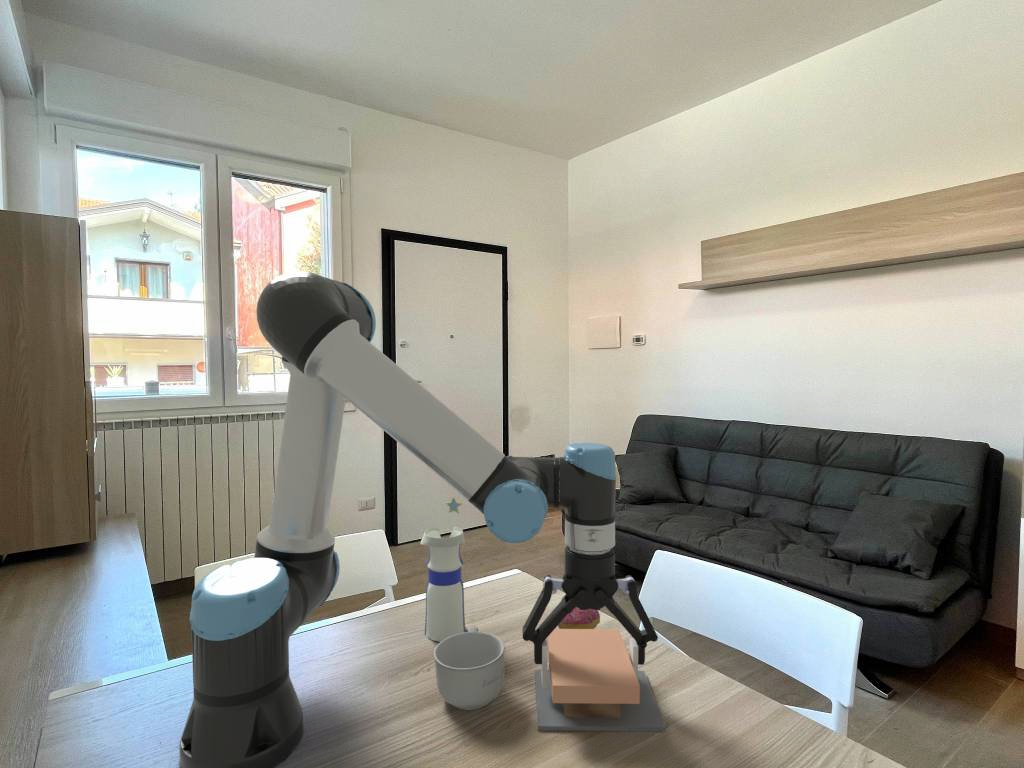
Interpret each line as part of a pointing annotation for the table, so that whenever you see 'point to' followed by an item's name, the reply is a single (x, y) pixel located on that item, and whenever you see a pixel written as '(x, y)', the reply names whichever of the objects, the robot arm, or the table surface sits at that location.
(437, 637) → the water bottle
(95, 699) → the table surface
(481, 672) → the teacup
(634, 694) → the lid
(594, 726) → the mat
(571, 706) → the brown wooden block
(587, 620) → the cupcake
